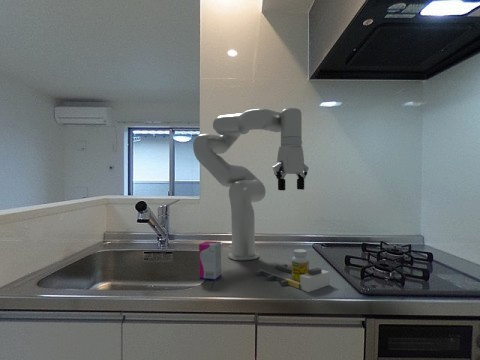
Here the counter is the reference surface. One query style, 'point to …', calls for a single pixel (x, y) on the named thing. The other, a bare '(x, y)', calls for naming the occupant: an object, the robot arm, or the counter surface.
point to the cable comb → (307, 281)
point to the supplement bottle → (299, 264)
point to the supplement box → (210, 260)
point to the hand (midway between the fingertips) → (291, 189)
